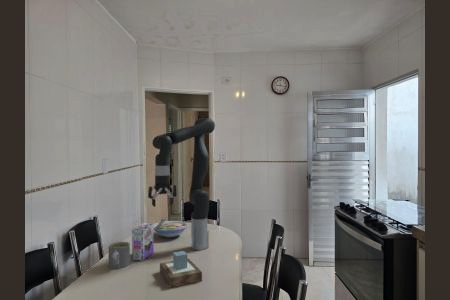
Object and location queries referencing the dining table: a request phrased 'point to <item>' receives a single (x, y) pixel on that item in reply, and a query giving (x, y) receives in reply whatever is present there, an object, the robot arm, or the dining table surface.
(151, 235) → the candy box
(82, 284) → the dining table surface
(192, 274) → the walnut base
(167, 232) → the ramen bowl
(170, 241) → the dining table surface
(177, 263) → the slate block
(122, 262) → the coffee mug
